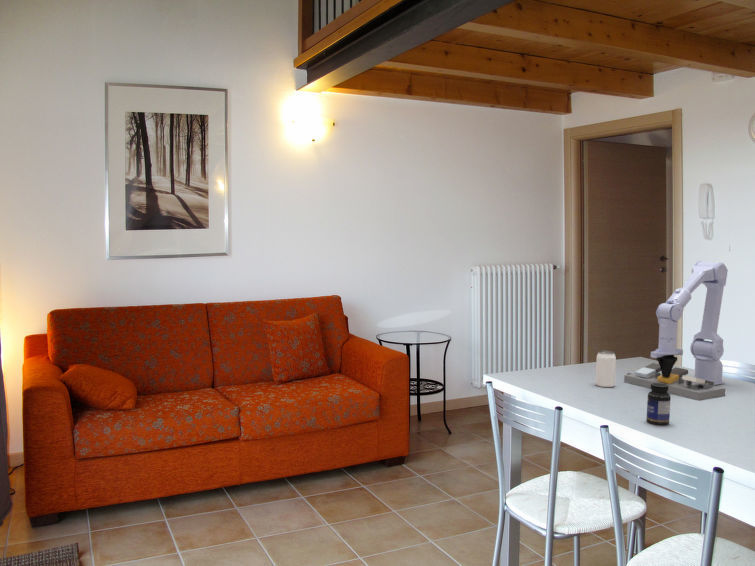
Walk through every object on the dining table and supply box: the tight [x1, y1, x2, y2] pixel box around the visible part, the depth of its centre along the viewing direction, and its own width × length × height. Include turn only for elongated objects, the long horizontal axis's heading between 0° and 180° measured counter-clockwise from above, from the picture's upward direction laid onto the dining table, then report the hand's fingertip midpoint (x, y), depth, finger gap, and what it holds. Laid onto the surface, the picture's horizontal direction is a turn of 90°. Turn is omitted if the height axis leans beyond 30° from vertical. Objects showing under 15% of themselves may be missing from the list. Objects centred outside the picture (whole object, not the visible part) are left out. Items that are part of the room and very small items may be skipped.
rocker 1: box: [634, 362, 661, 378], centre depth 248 cm, size 10×5×1 cm, turn 119°
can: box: [595, 350, 617, 388], centre depth 243 cm, size 6×6×12 cm
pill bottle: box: [646, 383, 671, 426], centre depth 197 cm, size 6×6×11 cm
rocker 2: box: [657, 366, 689, 384], centre depth 240 cm, size 10×5×1 cm, turn 119°
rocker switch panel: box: [623, 372, 726, 401], centre depth 242 cm, size 14×35×4 cm, turn 30°
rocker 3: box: [681, 375, 715, 386], centre depth 232 cm, size 10×5×1 cm, turn 121°
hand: (665, 376), depth 238 cm, fingers closed
